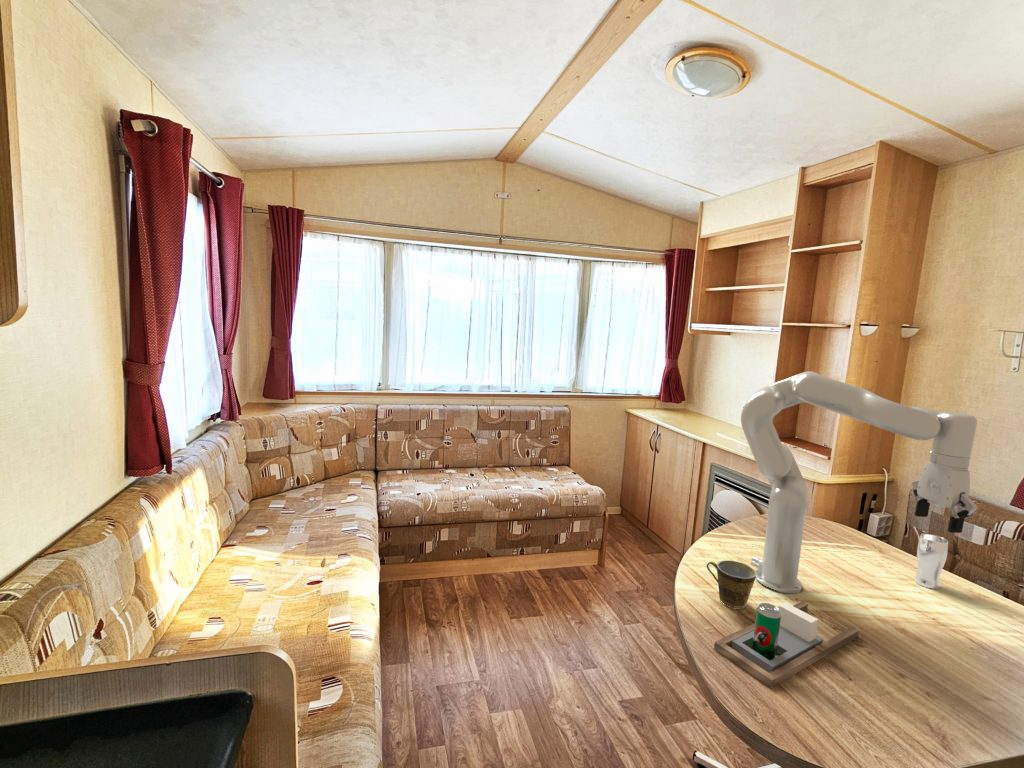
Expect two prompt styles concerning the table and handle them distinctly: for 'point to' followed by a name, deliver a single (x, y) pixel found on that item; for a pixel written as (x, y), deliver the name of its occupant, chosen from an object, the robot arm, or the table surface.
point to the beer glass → (930, 560)
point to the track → (788, 668)
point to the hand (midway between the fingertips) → (937, 523)
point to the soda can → (766, 630)
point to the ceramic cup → (734, 582)
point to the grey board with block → (784, 639)
